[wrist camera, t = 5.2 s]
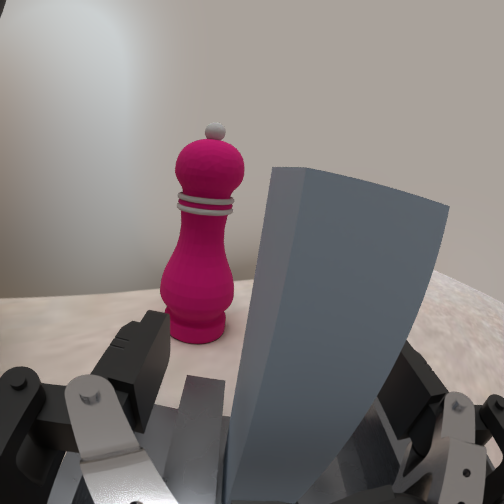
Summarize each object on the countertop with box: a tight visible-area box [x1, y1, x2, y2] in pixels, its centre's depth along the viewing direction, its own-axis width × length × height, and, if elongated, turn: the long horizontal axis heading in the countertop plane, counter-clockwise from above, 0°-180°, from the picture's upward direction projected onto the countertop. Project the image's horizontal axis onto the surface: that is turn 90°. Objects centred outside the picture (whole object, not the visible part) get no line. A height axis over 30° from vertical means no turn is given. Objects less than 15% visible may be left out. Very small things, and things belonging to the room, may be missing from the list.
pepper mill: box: [160, 122, 244, 344], centre depth 25 cm, size 7×7×20 cm
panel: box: [221, 167, 449, 504], centre depth 8 cm, size 2×5×15 cm, turn 0°
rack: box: [47, 375, 495, 504], centre depth 10 cm, size 22×11×5 cm, turn 90°
